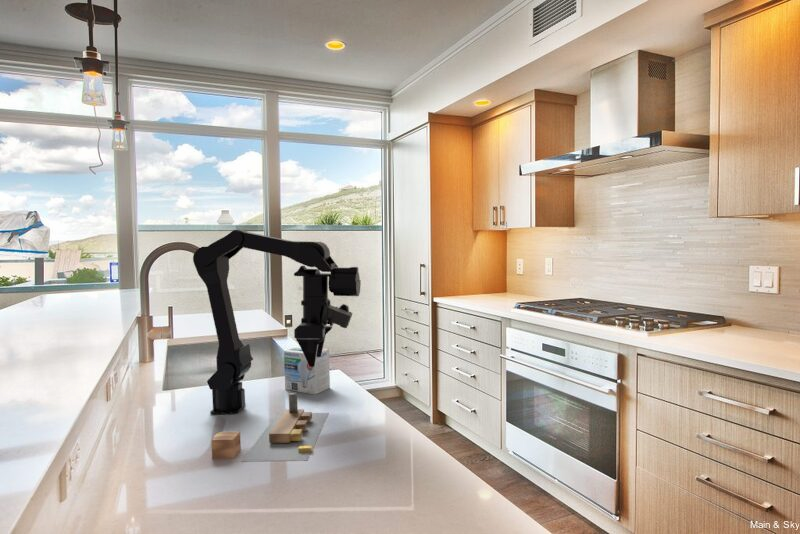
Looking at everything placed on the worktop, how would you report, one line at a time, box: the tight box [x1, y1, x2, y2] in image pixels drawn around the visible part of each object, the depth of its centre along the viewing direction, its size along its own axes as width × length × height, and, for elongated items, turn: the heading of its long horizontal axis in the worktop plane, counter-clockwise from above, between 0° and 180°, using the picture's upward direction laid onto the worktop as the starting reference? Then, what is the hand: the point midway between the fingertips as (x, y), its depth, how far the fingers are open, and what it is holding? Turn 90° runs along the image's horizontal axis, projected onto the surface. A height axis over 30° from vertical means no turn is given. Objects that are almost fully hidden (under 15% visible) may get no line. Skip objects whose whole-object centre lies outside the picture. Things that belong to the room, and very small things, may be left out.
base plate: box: [241, 412, 330, 463], centre depth 104 cm, size 12×25×1 cm, turn 179°
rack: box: [269, 392, 313, 443], centre depth 106 cm, size 6×14×6 cm, turn 179°
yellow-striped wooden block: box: [210, 430, 242, 460], centre depth 95 cm, size 4×4×4 cm
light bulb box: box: [283, 345, 331, 395], centre depth 137 cm, size 11×7×11 cm, turn 62°
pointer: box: [298, 446, 313, 453], centre depth 96 cm, size 2×1×1 cm, turn 89°
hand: (315, 361), depth 119 cm, fingers open, 9 cm apart
